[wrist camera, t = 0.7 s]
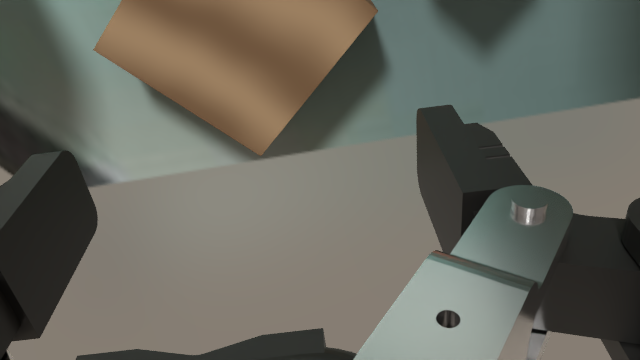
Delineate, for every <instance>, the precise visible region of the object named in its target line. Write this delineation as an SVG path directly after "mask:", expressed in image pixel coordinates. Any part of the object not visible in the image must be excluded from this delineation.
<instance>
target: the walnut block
mask: <svg viewBox="0 0 640 360" xmlns="http://www.w3.org/2000/svg"><path fill="white" fill-rule="evenodd" d="M377 12H378V10H377V9H376V7H375V6H374V4H373V3H372V1H371V0H122V1H121V3H120V5H119V6H118V8H117V10H116V12H115V13H114V15H113V17H112V18H111V20H110V22H109V24H108V25H107V27H106V29H105V30H104V32H103V34H102V36H101V37H100V39H99V41H98V43H97V44H96V46H95V48H94V49H93V50H94V51H96V52H97V53H99V54H100V55H102V56H104V57H105V58H107V59H108V60H110V61H112V62H113V63H115V64H116V65H118V66H119V67H121V68H123V69H124V70H126V71H127V72H129V73H130V74H132V75H134V76H135V77H137V78H138V79H140V80H141V81H143V82H145V83H146V84H148V85H149V86H151V87H152V88H154V89H156V90H157V91H159V92H160V93H162V94H164V95H165V96H167V97H168V98H170V99H171V100H173V101H175V102H176V103H178V104H179V105H181V106H182V107H184V108H186V109H187V110H189V111H190V112H192V113H193V114H195V115H197V116H198V117H200V118H201V119H203V120H204V121H206V122H208V123H209V124H211V125H212V126H214V127H215V128H217V129H219V130H220V131H222V132H223V133H225V134H227V135H228V136H230V137H231V138H233V139H234V140H236V141H238V142H239V143H241V144H242V145H244V146H245V147H247V148H249V149H250V150H252V151H253V152H255V153H256V154H258V155H260V156H261V155H262V154H263V153H264V152H265V150H266V149H267V148H268V147H269V145H270V144H271V143H272V142H273V140H274V139H275V138H276V137H277V136H278V134H279V133H280V132H281V131H282V129H283V128H284V127H285V126H286V124H287V123H288V122H289V121H290V119H291V118H292V117H293V116H294V115H295V113H296V112H297V111H298V110H299V108H300V107H301V106H302V105H303V103H304V102H305V101H306V100H307V98H308V97H309V96H310V95H311V94H312V92H313V91H314V90H315V89H316V87H317V86H318V85H319V84H320V82H321V81H322V80H323V79H324V77H325V76H326V75H327V74H328V73H329V71H330V70H331V69H332V68H333V66H334V65H335V64H336V63H337V61H338V60H339V59H340V58H341V56H342V55H343V54H344V53H345V52H346V50H347V49H348V48H349V47H350V45H351V44H352V43H353V42H354V40H355V39H356V38H357V37H358V35H359V34H360V33H361V32H362V31H363V29H364V28H365V27H366V26H367V24H368V23H369V22H370V21H371V19H372V18H373V17H374V16H375V14H376V13H377Z"/></svg>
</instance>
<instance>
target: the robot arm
mask: <svg viewBox="0 0 640 360" xmlns="http://www.w3.org/2000/svg"><path fill="white" fill-rule="evenodd" d="M417 174H418V182H419V188H420V192H421V195H422V198H423V200H424V203H425V205H426V208H427V211H428V213H429V216H430V219H431V221H432V224H433V227H434V229H435V231H436V234H437V237H438V240H439V242H440V245H441V247H442V250H443V252H441V251H438V250H435V251H433V252H432V253H431V254H430V255H429V256H428V257H427V258H426V260H425V261H424V262H423V264H422V265H421V267H420V268H419V269H418V271H417V272H416V273H415V275H414V276H413V278H412V279H411V280H410V282H409V283H408V285H407V286H406V287H405V289H404V290H403V291H402V293H401V294H400V296H399V297H398V298H397V300H396V301H395V302H394V304H393V305H392V307H391V308H390V309H389V311H388V312H387V314H386V315H385V316H384V318H383V319H382V320H381V322H380V323H379V325H378V326H377V327H376V329H375V330H374V332H373V333H372V334H371V336H370V337H369V338H368V340H367V341H366V343H365V344H364V345H363V347H362V348H361V349H360V351H359V352H358V354H356V353H352V352H349V351H345V350H341V349H335V348H328V347H326V344H325V338H324V332H323V328H321V329H312V330H303V331H295V332H285V333H277V334H268V335H261V336H258V337H255V338H252V339H249V340H245V341H242V342H240V343H236V344H233V345H230V346H227V347H224V348H221V349H218V350H214V351H211V352H208V353H205V354H201V355H184V354H175V353H166V352H157V351H149V350H140V349H134V350H126V351H118V352H108V353H99V354H90V355H81V356H77V358H76V360H540V359H541V357H542V355H543V352H544V349H545V347H546V344H547V342H548V339H549V337H550V334H551V331H552V332H559V333H566V334H573V335H579V336H586V337H593V338H600V339H601V340H602V342H603V344H604V346H605V348H606V349H607V351H608V353H609V355H610V357H611V358H612V360H640V198H638V199H636V200H635V201H633V202H632V203H631V204H630V205H629V208H628V211H627V215H626V219H618V218H605V217H593V216H585V215H579V214H574V213H573V209H572V206H571V204H570V203H569V202H568V201H567V200H566V199H565V198H564V197H563V196H561V195H560V194H558V193H556V192H554V191H551V190H549V189H546V188H542V187H537V186H533V185H532V184H531V183H530V181H529V180H528V178H527V177H526V176H525V175H524V173H523V172H522V171H521V169H520V168H519V166H518V165H517V163H516V162H515V161H514V159H513V158H512V157H510V154H509V152H508V151H507V150H506V148H505V147H503V146H502V143H501V142H500V140H499V139H498V137H497V136H496V135H495V133H494V132H493V131H490V130H489V129H487V128H485V127H483V126H482V125H480V124H478V123H471V124H464V123H463V122H462V120H461V119H460V117H459V116H458V114H457V112H456V111H455V109H454V108H453V106H452V105H444V106H436V107H427V108H419V109H418V110H417ZM96 228H97V211H96V207H95V204H94V202H93V199H92V197H91V195H90V192H89V190H88V187H87V185H86V183H85V180H84V178H83V175H82V173H81V171H80V168H79V166H78V164H77V161H76V159H75V157H74V156H73V155H72V153H70V152H69V151H57V152H49V153H41V154H33V155H31V156H30V157H29V158H28V159H27V161H26V162H25V163H24V164H23V165H22V166H21V167H20V169H19V170H18V171H17V172H16V173H15V174H14V175H13V177H12V178H11V179H10V180H9V181H7V182H6V183H4V184H3V185H1V186H0V360H14V358H13V357H12V355H11V354H10V352H9V350H8V349H7V348H8V346H9V345H10V343H11V341H19V340H28V339H36V338H40V336H41V334H42V333H43V331H44V329H45V327H46V325H47V323H48V321H49V319H50V318H51V315H52V314H53V312H54V310H55V308H56V306H57V304H58V302H59V300H60V298H61V297H62V295H63V293H64V291H65V289H66V287H67V285H68V283H69V281H70V279H71V278H72V275H73V274H74V272H75V270H76V268H77V266H78V264H79V262H80V260H81V258H82V256H83V255H84V253H85V251H86V249H87V247H88V245H89V243H90V241H91V239H92V237H93V236H94V234H95V231H96Z"/></svg>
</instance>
